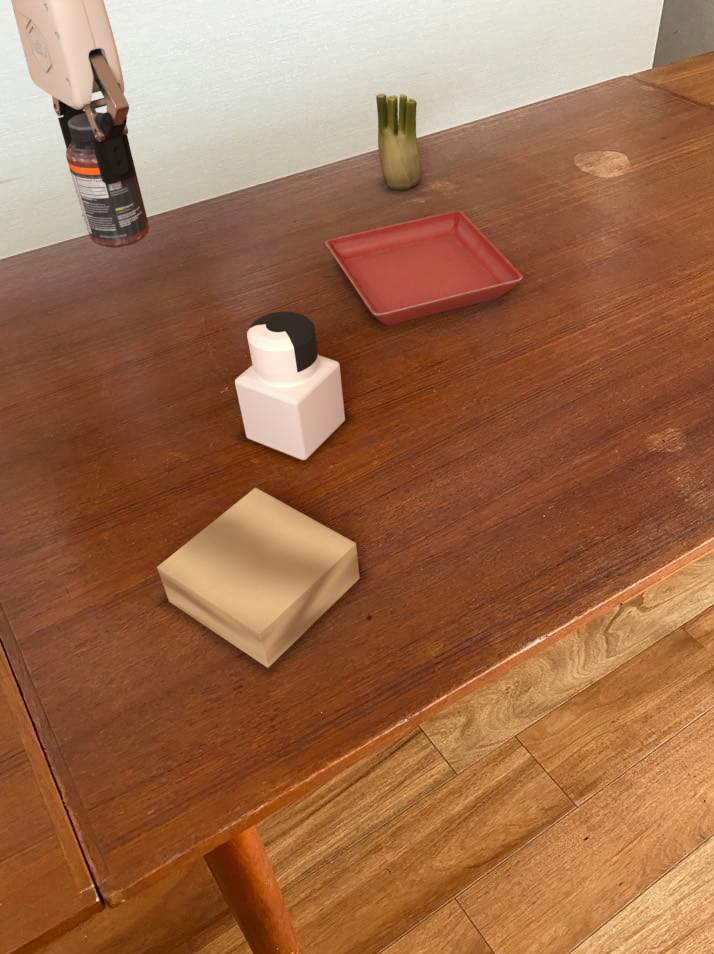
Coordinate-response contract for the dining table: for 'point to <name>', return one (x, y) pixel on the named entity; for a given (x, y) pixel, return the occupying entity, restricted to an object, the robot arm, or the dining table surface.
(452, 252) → the plant saucer
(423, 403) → the dining table surface
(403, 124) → the fennel bulb
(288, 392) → the medicine bottle
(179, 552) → the block
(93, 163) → the supplement bottle
